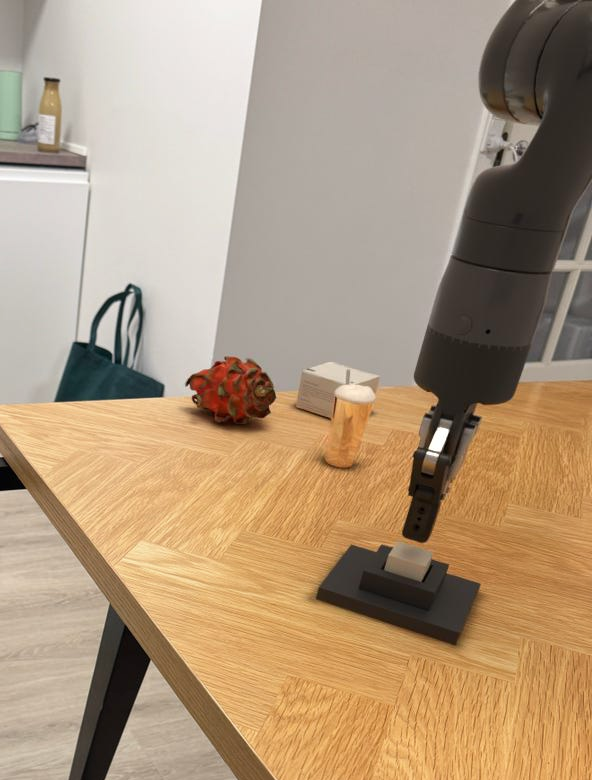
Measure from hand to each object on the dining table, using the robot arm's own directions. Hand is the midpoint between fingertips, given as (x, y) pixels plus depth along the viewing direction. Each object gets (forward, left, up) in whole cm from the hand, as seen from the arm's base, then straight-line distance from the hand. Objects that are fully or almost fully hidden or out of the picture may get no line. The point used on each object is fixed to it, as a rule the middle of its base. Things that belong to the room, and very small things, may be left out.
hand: (415, 537), depth 75 cm
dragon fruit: (+30, -32, -6) cm, 44 cm away
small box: (+20, -46, -6) cm, 51 cm away
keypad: (0, 0, -6) cm, 6 cm away
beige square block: (0, 0, -3) cm, 3 cm away
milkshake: (+14, -28, -6) cm, 32 cm away
